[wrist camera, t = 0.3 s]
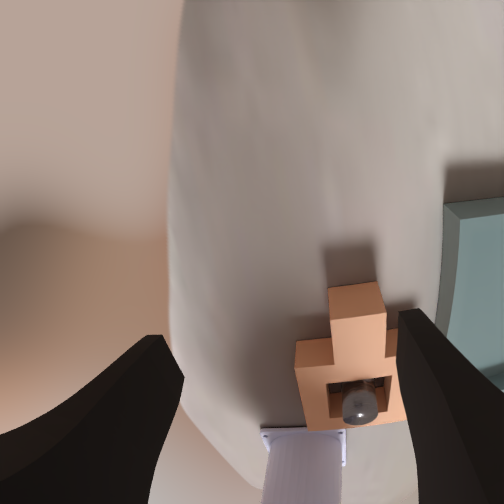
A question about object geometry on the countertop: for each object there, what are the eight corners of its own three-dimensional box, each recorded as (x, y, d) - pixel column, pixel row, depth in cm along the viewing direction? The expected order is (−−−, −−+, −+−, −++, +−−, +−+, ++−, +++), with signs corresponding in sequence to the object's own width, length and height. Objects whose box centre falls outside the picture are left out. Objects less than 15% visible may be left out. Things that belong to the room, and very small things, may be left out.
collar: (403, 395, 22) (408, 424, 20) (309, 407, 24) (307, 436, 21) (416, 275, 17) (430, 305, 14) (286, 293, 19) (282, 325, 16)
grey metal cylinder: (372, 380, 22) (377, 423, 18) (341, 384, 22) (342, 427, 19) (372, 360, 21) (379, 404, 17) (340, 364, 21) (342, 409, 18)
